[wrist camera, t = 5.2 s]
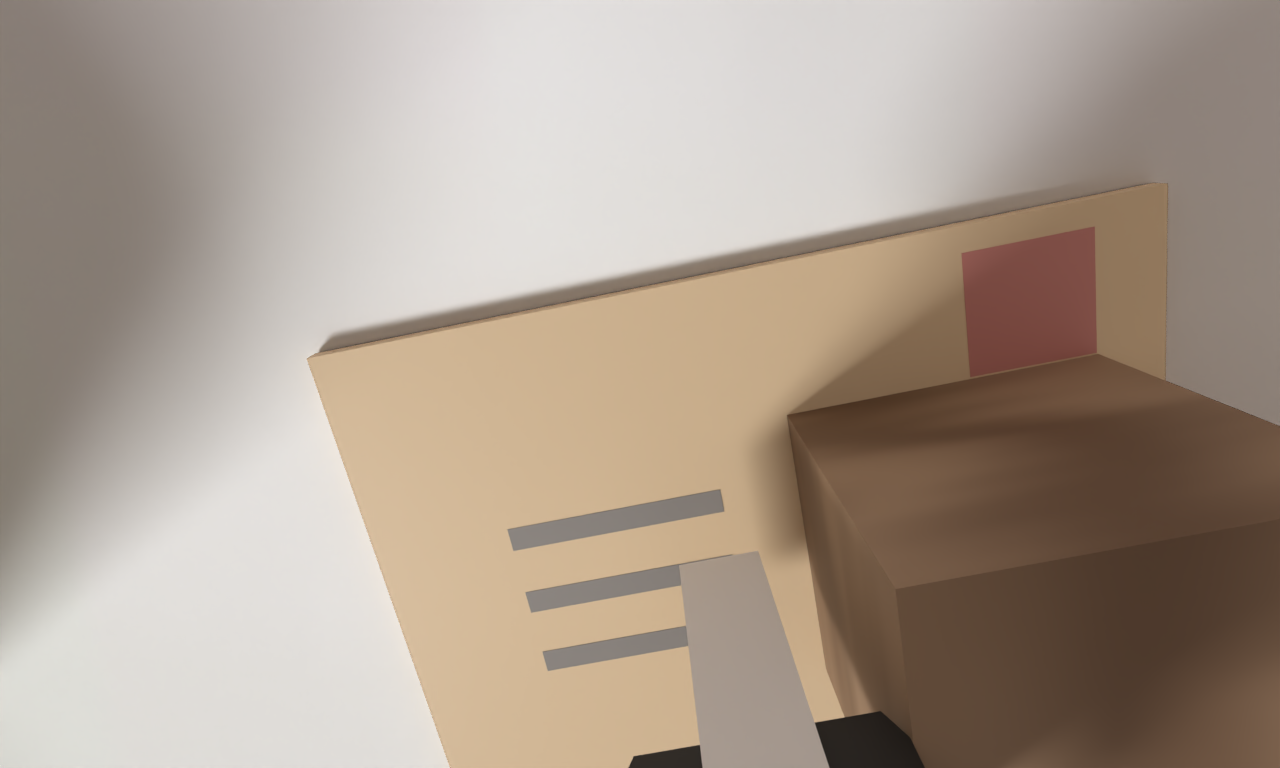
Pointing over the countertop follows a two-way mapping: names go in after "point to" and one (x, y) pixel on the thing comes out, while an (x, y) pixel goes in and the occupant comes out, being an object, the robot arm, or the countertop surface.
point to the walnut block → (1050, 568)
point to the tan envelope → (680, 454)
